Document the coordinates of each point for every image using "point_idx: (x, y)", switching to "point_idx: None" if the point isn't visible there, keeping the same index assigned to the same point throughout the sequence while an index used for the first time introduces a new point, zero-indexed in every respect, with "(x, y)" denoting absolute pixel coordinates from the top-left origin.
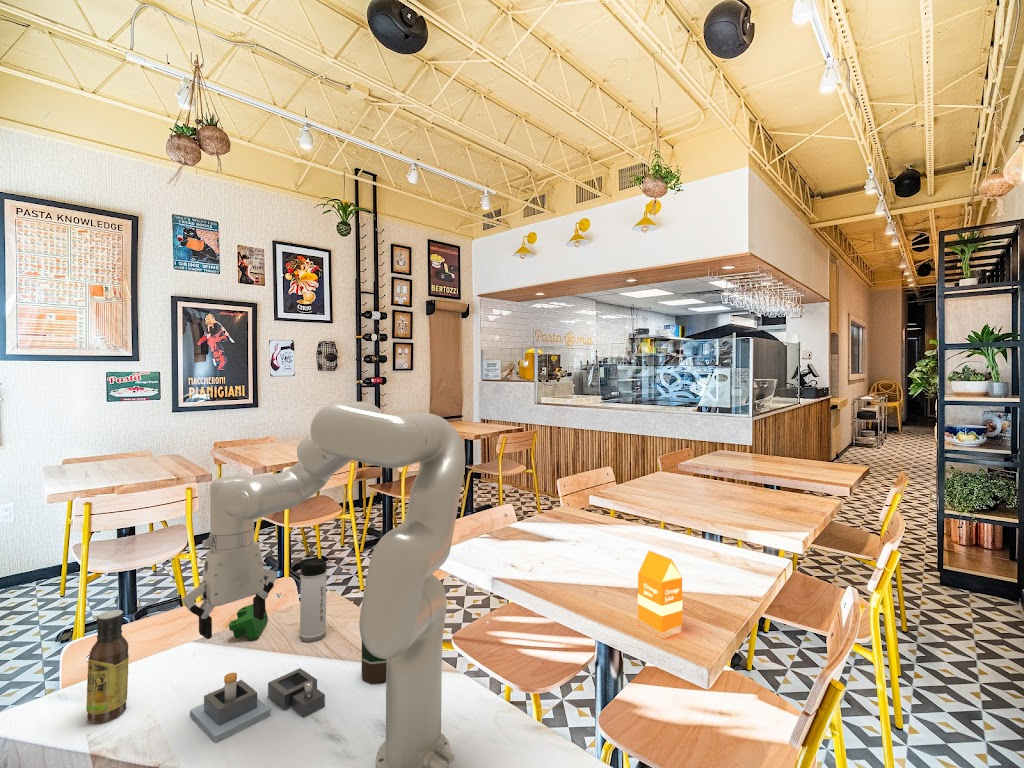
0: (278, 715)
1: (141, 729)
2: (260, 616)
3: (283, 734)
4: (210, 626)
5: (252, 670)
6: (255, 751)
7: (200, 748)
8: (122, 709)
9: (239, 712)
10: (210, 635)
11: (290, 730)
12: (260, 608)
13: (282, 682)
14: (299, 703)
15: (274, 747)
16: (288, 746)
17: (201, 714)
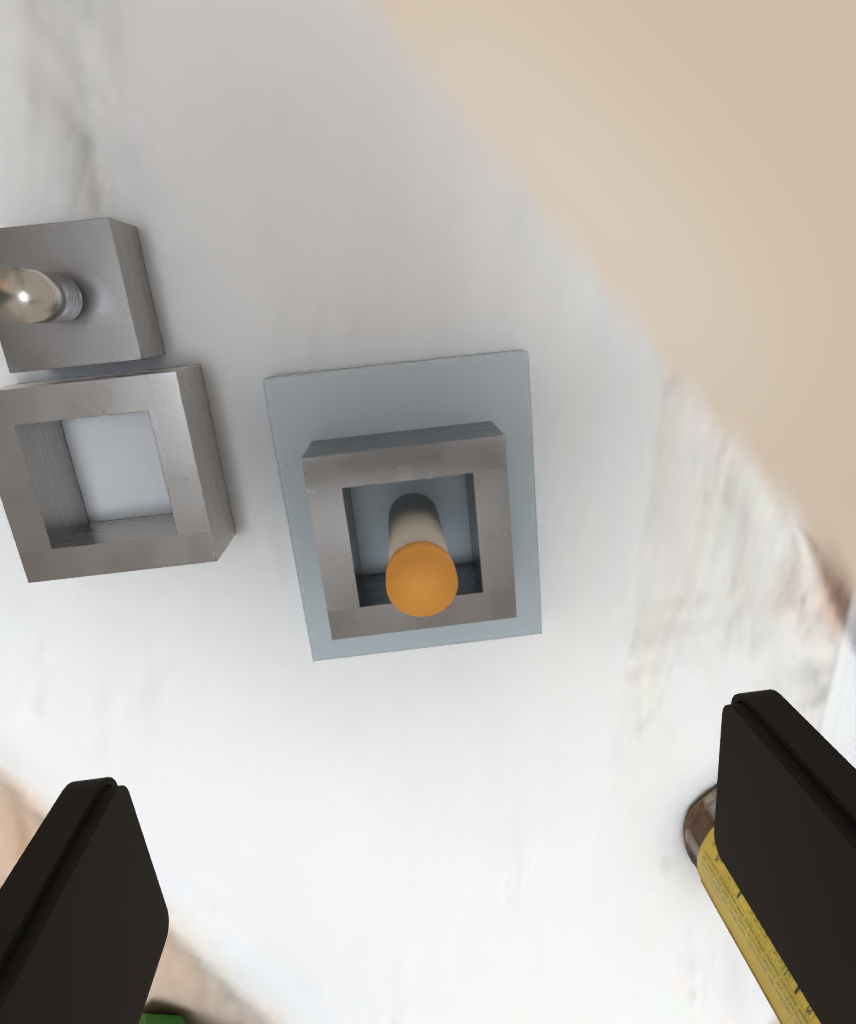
0: (236, 347)
1: (687, 655)
2: (96, 814)
3: (262, 165)
4: (849, 798)
5: (234, 786)
6: (408, 137)
7: (575, 360)
8: (711, 805)
9: (397, 435)
10: (763, 711)
11: (224, 170)
12: (33, 931)
13: (150, 532)
14: (124, 272)
15: (329, 91)
16: (271, 37)
17: (517, 567)
